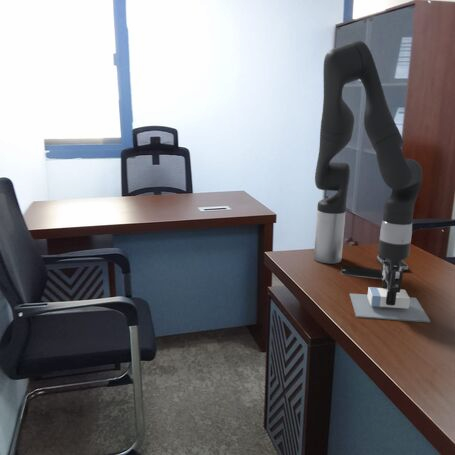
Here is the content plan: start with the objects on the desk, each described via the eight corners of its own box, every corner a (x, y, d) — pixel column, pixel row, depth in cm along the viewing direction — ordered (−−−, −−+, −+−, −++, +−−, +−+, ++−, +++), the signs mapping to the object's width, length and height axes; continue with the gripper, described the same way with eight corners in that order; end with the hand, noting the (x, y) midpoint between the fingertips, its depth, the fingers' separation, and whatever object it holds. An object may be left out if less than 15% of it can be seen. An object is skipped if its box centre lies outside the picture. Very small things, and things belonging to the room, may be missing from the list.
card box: (403, 299, 126) (404, 289, 125) (408, 308, 120) (410, 298, 119) (367, 296, 127) (368, 287, 126) (370, 305, 121) (371, 295, 120)
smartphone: (341, 265, 153) (389, 270, 149) (341, 267, 154) (389, 272, 150) (340, 273, 146) (390, 279, 142) (340, 276, 147) (390, 281, 143)
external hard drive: (386, 272, 150) (387, 266, 150) (376, 260, 161) (376, 255, 160) (408, 272, 150) (408, 266, 150) (396, 260, 161) (396, 255, 160)
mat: (349, 294, 132) (349, 293, 132) (415, 299, 129) (416, 297, 129) (356, 317, 118) (356, 315, 118) (430, 322, 116) (430, 321, 116)
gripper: (417, 248, 111) (409, 312, 116) (404, 231, 125) (396, 289, 130) (385, 246, 112) (377, 310, 117) (375, 230, 126) (369, 287, 130)
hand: (387, 299), depth 123 cm, fingers closed on card box, 5 cm apart
